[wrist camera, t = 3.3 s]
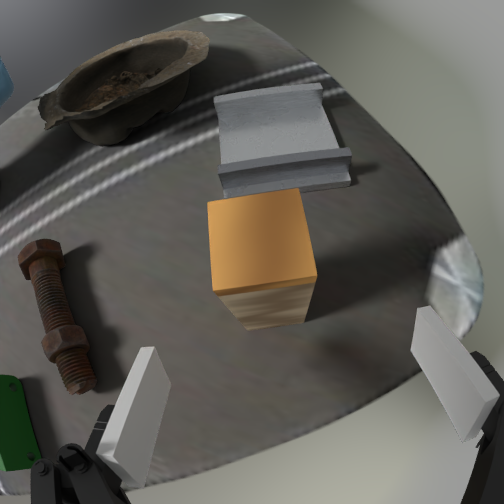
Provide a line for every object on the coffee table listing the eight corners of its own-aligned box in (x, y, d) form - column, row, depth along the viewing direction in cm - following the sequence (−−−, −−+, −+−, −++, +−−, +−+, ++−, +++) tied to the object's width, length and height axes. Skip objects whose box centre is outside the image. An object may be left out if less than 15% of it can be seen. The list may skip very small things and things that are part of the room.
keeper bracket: (226, 204, 29) (218, 182, 26) (219, 115, 34) (213, 93, 31) (349, 186, 28) (355, 163, 25) (317, 101, 33) (318, 79, 30)
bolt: (101, 392, 25) (56, 269, 30) (120, 374, 23) (70, 240, 28) (50, 404, 20) (12, 268, 25) (63, 387, 18) (22, 236, 23)
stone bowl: (69, 199, 32) (25, 152, 24) (71, 109, 43) (47, 73, 35) (251, 105, 33) (236, 39, 25) (192, 47, 45) (179, 5, 37)
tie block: (247, 330, 24) (213, 290, 13) (242, 278, 26) (207, 202, 15) (303, 322, 24) (317, 275, 13) (295, 270, 26) (298, 187, 15)
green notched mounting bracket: (27, 398, 27) (-27, 368, 21) (45, 392, 26) (-15, 359, 20) (22, 478, 19) (-40, 454, 13) (41, 482, 18) (-30, 457, 12)
